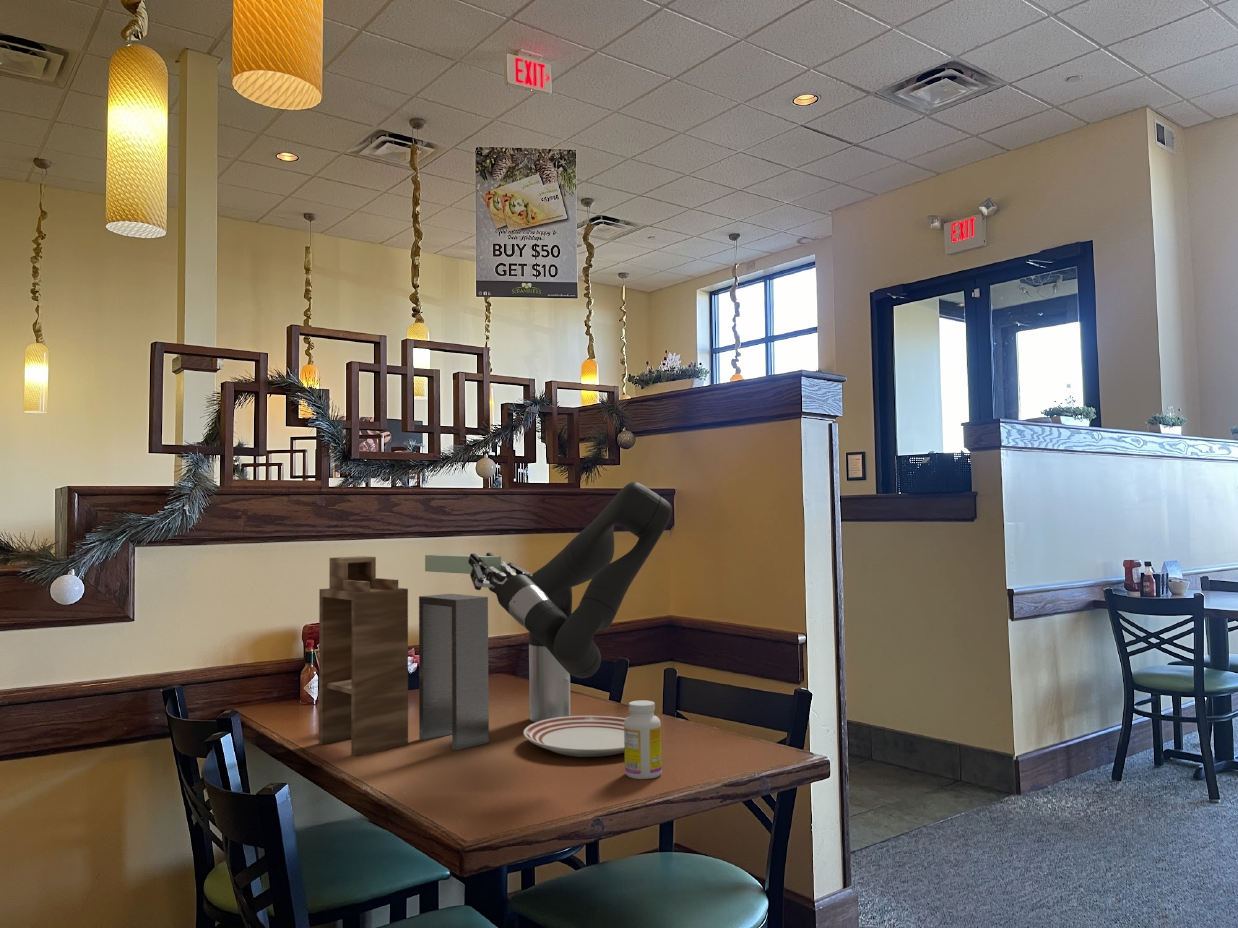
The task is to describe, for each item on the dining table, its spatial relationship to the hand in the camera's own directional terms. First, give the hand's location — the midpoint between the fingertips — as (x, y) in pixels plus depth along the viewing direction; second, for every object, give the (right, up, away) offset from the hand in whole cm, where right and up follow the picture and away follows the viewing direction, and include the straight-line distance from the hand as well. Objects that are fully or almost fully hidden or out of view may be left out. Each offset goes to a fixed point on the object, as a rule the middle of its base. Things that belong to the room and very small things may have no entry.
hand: (479, 556), depth 184 cm
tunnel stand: (-24, -39, +3) cm, 46 cm away
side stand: (-6, -39, +4) cm, 40 cm away
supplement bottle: (+33, -37, -22) cm, 54 cm away
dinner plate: (+23, -39, 0) cm, 45 cm away
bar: (-4, -4, +4) cm, 7 cm away
